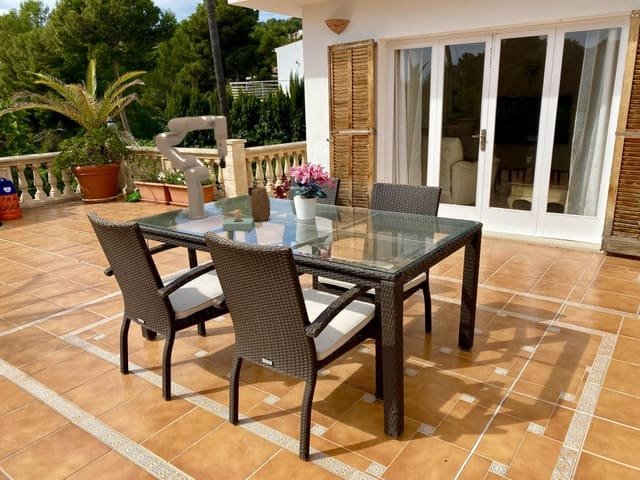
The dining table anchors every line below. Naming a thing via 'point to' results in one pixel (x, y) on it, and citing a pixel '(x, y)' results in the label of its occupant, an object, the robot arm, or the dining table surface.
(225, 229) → the socket board
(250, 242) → the dining table surface
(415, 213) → the dining table surface
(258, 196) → the brown upright rounded piece
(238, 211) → the peg
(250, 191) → the glass holder
